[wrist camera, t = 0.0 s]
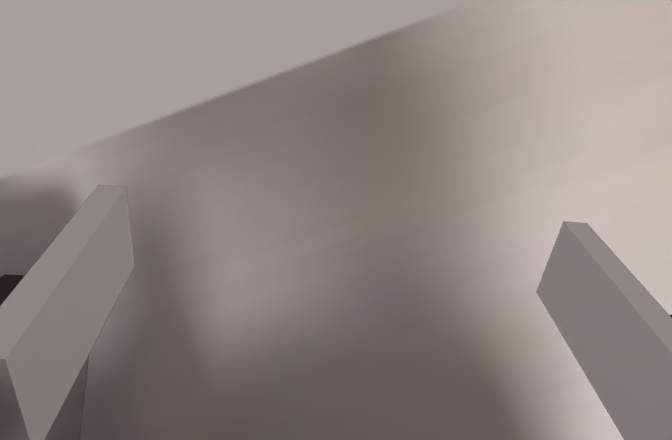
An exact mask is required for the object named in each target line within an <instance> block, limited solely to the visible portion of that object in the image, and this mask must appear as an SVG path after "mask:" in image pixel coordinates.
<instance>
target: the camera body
mask: <svg viewBox="0 0 672 440" xmlns="http://www.w3.org/2000/svg"><path fill="white" fill-rule="evenodd" d="M88 358H89V355H88V357H87V359H86V360H85V362H84V364H83V366H82V368H81V370H80V372H79V374H78V376H77V378H76V380H75V382H74V384H73V385H72V387H71V389H70V391H69V393H68V395H67V397H66V399H65V401H64V403H63V405H62V407H61V409H60V410H59V412H58V414H57V416H56V418H55V420H54V422H53V424H52V426H51V428H50V430H49V432H48V434H47V435H46V437H45V439H44V440H79V437H80V428H81V419H82V410H83V402H84V393H85V384H86V375H87V367H88Z"/></svg>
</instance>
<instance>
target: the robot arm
mask: <svg viewBox="0 0 672 440" xmlns="http://www.w3.org/2000/svg"><path fill="white" fill-rule="evenodd" d="M134 266H135V262H134V253H133V244H132V235H131V226H130V217H129V208H128V199H127V190H126V187H116V186H103V185H98V187H97V188H96V189H95V190H94V191H93V193H92V194H91V195H90V196H89V198H88V199H87V200H86V201H85V203H84V204H83V205H82V206H81V207H80V209H79V210H78V211H77V212H76V214H75V215H74V216H73V217H72V218H71V220H70V221H69V222H68V223H67V225H66V226H65V227H64V228H63V230H62V231H61V232H60V233H59V234H58V236H57V237H56V238H55V239H54V241H53V242H52V243H51V244H50V246H49V247H48V248H47V249H46V250H45V252H44V253H43V254H42V255H41V257H40V258H39V259H38V260H37V262H36V263H35V264H34V265H33V266H32V268H31V269H30V270H29V271H28V273H27V274H26V275H25V276H21V275H3V276H2V277H0V440H44V439H45V437H46V435H47V434H48V432H49V430H50V428H51V426H52V424H53V422H54V420H55V418H56V416H57V414H58V412H59V410H60V409H61V407H62V405H63V403H64V401H65V399H66V397H67V395H68V393H69V391H70V389H71V387H72V385H73V384H74V382H75V380H76V378H77V376H78V374H79V372H80V370H81V368H82V366H83V364H84V362H85V360H86V359H87V357H88V355H89V353H90V351H91V349H92V347H93V345H94V343H95V341H96V339H97V337H98V335H99V334H100V332H101V330H102V328H103V326H104V324H105V322H106V320H107V318H108V316H109V314H110V312H111V310H112V309H113V307H114V305H115V303H116V301H117V299H118V297H119V295H120V293H121V291H122V289H123V287H124V285H125V284H126V282H127V280H128V278H129V276H130V274H131V272H132V270H133V268H134ZM536 292H537V294H538V295H539V297H540V299H541V301H542V302H543V304H544V306H545V307H546V309H547V311H548V312H549V314H550V316H551V317H552V319H553V321H554V322H555V324H556V326H557V327H558V329H559V331H560V333H561V334H562V336H563V338H564V339H565V341H566V343H567V344H568V346H569V348H570V349H571V351H572V353H573V354H574V356H575V358H576V359H577V361H578V363H579V365H580V366H581V368H582V370H583V371H584V373H585V375H586V376H587V378H588V380H589V381H590V383H591V385H592V386H593V388H594V390H595V392H596V393H597V395H598V397H599V398H600V400H601V402H602V403H603V405H604V407H605V408H606V410H607V412H608V413H609V415H610V417H611V418H612V420H613V422H614V424H615V425H616V427H617V429H618V430H619V432H620V434H621V435H622V437H623V439H624V440H672V315H669V314H668V313H667V312H666V311H665V310H664V309H663V308H662V306H661V305H660V304H659V303H658V302H657V301H656V300H655V299H654V298H653V296H652V295H651V294H650V293H649V292H648V291H647V290H646V289H645V287H644V286H643V285H642V284H641V283H640V282H639V281H638V280H637V278H636V277H635V276H634V275H633V274H632V273H631V272H630V271H629V270H628V268H627V267H626V266H625V265H624V264H623V263H622V262H621V261H620V259H619V258H618V257H617V256H616V255H615V254H614V253H613V252H612V251H611V249H610V248H609V247H608V246H607V245H606V244H605V243H604V242H603V240H602V239H601V238H600V237H599V236H598V235H597V234H596V233H595V232H594V230H593V229H592V228H591V227H590V226H589V225H588V224H587V223H578V222H565V221H563V224H562V227H561V229H560V232H559V234H558V237H557V239H556V242H555V245H554V247H553V250H552V252H551V255H550V258H549V260H548V263H547V265H546V268H545V270H544V273H543V276H542V278H541V281H540V283H539V286H538V289H537V291H536Z"/></svg>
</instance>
